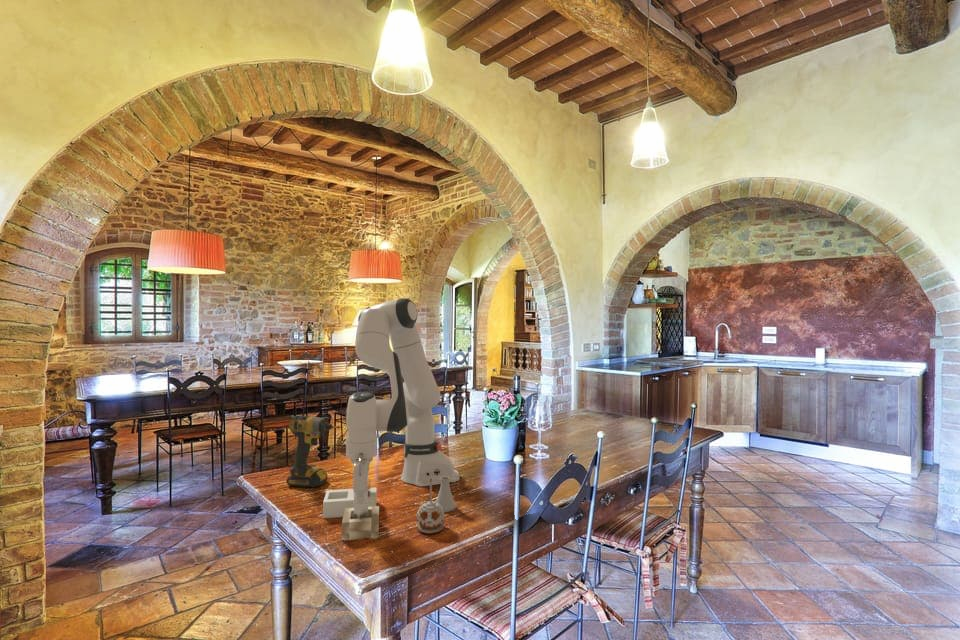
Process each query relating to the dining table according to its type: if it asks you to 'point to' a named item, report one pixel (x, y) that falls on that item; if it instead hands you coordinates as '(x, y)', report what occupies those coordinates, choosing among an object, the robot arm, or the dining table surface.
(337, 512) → the socket block
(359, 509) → the grey metallic cylinder
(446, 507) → the flask
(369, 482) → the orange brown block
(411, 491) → the dining table surface
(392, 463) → the dining table surface
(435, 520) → the decorative ornament
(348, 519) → the beige square holder
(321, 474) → the cordless drill
